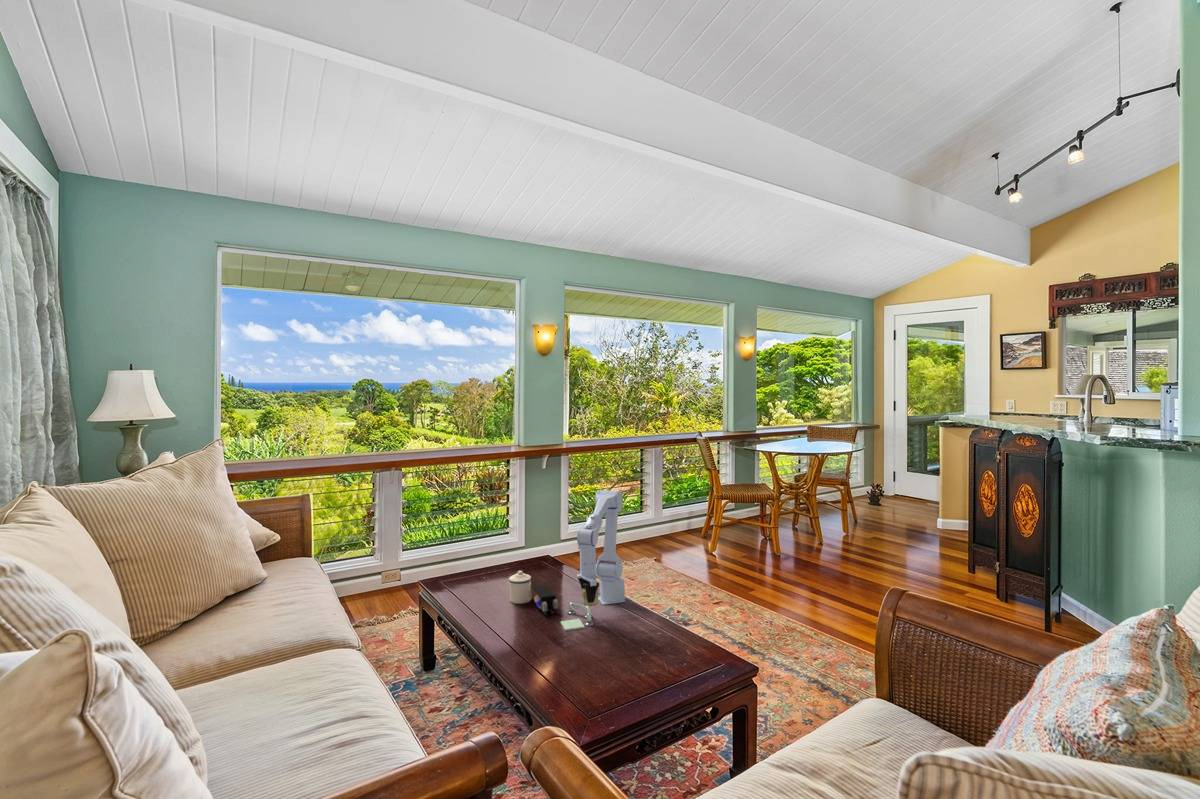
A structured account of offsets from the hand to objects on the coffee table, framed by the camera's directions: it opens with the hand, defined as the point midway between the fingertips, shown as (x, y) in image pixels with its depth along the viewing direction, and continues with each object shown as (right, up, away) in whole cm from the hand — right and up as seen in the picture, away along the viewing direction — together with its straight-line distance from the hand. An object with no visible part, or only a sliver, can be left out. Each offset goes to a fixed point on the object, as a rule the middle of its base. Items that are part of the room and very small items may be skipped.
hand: (588, 599), depth 200 cm
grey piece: (-3, -9, +5) cm, 10 cm away
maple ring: (+1, -2, 0) cm, 2 cm away
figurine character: (-17, -9, +13) cm, 23 cm away
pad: (-6, -9, -2) cm, 11 cm away
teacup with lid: (-29, -9, +24) cm, 39 cm away
